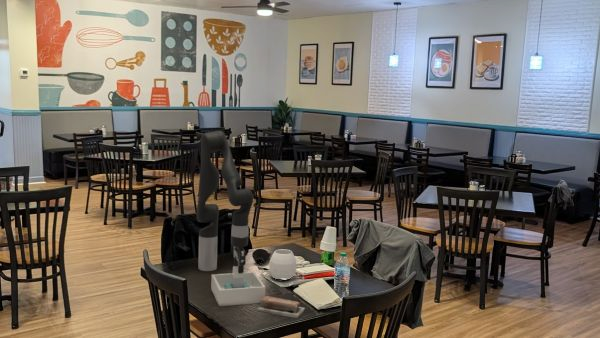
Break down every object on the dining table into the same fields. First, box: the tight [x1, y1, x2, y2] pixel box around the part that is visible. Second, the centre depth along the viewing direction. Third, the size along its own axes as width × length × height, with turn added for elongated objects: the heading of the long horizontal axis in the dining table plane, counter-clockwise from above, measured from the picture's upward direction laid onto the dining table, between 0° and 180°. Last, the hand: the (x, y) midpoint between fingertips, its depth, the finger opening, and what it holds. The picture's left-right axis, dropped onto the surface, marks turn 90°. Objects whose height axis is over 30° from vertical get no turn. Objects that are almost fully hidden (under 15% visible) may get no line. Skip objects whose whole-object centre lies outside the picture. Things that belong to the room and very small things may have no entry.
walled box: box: [210, 271, 267, 307], centre depth 244 cm, size 20×20×7 cm
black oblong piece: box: [251, 248, 272, 266], centre depth 294 cm, size 9×11×18 cm
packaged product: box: [256, 295, 306, 319], centre depth 231 cm, size 18×5×10 cm
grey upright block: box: [232, 265, 245, 289], centre depth 243 cm, size 4×4×12 cm
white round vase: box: [268, 248, 297, 280], centre depth 269 cm, size 13×13×14 cm
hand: (238, 269), depth 243 cm, fingers open, 8 cm apart
